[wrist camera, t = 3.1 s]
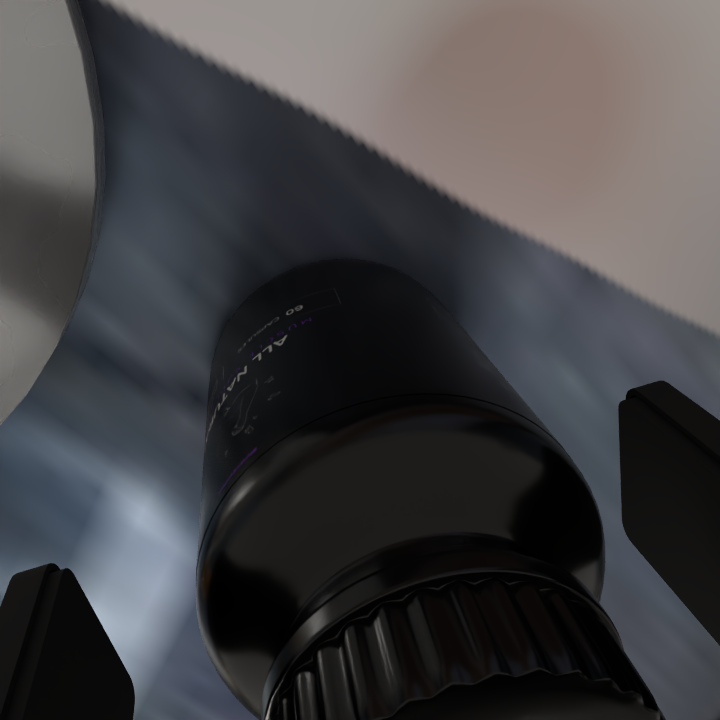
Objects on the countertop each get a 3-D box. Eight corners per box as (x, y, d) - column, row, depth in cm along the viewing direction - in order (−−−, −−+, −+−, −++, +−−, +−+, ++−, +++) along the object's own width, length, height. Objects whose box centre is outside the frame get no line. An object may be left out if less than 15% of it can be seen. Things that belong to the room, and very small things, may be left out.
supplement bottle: (198, 255, 16) (145, 625, 6) (465, 249, 18) (846, 542, 7) (216, 491, 19) (204, 1043, 8) (445, 471, 20) (696, 932, 10)
